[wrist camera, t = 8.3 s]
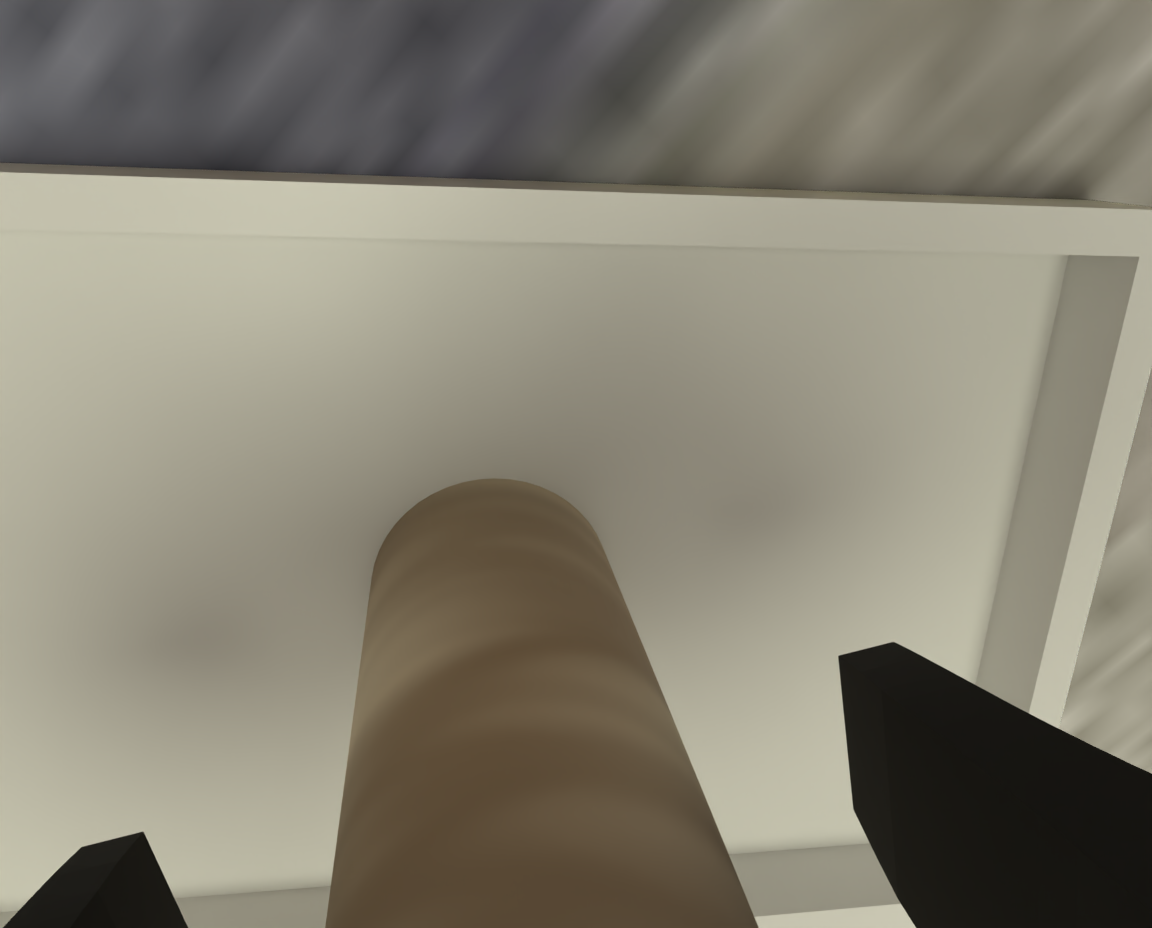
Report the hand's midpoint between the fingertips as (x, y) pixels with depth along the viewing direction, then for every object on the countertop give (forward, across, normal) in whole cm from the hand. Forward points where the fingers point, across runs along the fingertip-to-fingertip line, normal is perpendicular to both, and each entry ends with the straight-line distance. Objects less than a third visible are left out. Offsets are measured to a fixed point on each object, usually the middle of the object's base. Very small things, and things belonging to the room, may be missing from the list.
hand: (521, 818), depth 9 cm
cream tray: (+6, 0, 0) cm, 6 cm away
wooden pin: (+5, 0, 0) cm, 5 cm away
